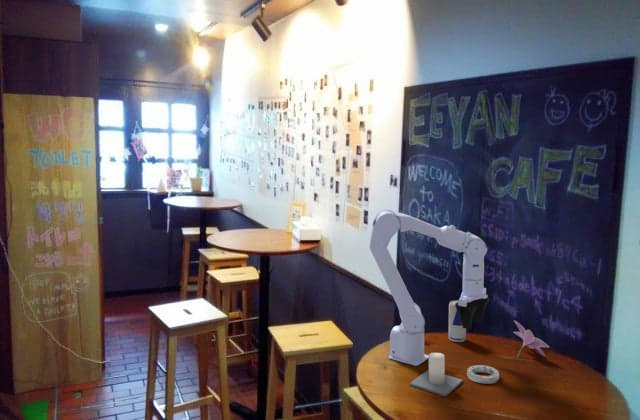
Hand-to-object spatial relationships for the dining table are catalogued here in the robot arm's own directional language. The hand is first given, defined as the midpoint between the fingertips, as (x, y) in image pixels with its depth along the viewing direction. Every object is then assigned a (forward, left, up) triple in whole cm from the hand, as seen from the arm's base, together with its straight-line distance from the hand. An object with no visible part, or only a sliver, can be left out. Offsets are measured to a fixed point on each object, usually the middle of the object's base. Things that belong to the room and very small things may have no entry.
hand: (472, 324), depth 149 cm
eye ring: (+7, -9, -10) cm, 15 cm away
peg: (-1, -20, -10) cm, 22 cm away
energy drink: (-10, +12, -11) cm, 19 cm away
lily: (+12, +13, -11) cm, 21 cm away
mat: (-1, -20, -10) cm, 23 cm away
